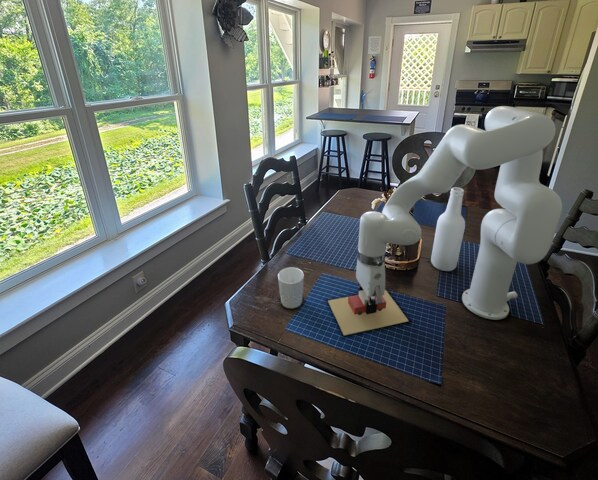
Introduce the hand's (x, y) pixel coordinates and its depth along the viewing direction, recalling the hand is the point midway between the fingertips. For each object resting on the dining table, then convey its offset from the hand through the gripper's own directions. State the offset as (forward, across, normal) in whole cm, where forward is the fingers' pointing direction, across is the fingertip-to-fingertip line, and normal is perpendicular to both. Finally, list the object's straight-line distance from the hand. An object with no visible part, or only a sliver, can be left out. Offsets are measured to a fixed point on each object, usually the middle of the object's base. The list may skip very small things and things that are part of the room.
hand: (366, 305), depth 96 cm
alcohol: (+2, +14, -37) cm, 40 cm away
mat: (+2, 0, 0) cm, 2 cm away
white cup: (+2, +10, +21) cm, 23 cm away
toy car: (+1, 0, 0) cm, 1 cm away
